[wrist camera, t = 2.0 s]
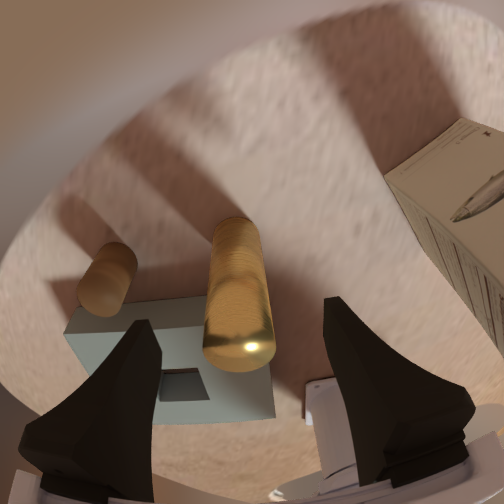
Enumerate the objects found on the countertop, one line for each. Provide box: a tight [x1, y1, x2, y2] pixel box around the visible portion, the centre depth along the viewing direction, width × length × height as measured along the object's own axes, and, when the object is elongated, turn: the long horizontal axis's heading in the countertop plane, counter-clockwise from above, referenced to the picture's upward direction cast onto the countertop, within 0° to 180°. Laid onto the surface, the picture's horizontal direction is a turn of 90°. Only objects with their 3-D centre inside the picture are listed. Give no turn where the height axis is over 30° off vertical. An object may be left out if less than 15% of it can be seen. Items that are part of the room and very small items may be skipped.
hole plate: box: [63, 295, 276, 425], centre depth 24 cm, size 14×12×3 cm
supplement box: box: [384, 118, 504, 358], centre depth 13 cm, size 7×7×13 cm
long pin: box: [202, 217, 276, 372], centre depth 16 cm, size 3×3×9 cm
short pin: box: [77, 242, 138, 317], centre depth 18 cm, size 3×3×4 cm
